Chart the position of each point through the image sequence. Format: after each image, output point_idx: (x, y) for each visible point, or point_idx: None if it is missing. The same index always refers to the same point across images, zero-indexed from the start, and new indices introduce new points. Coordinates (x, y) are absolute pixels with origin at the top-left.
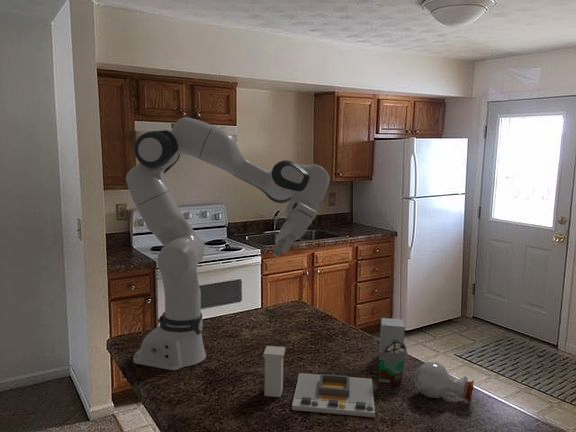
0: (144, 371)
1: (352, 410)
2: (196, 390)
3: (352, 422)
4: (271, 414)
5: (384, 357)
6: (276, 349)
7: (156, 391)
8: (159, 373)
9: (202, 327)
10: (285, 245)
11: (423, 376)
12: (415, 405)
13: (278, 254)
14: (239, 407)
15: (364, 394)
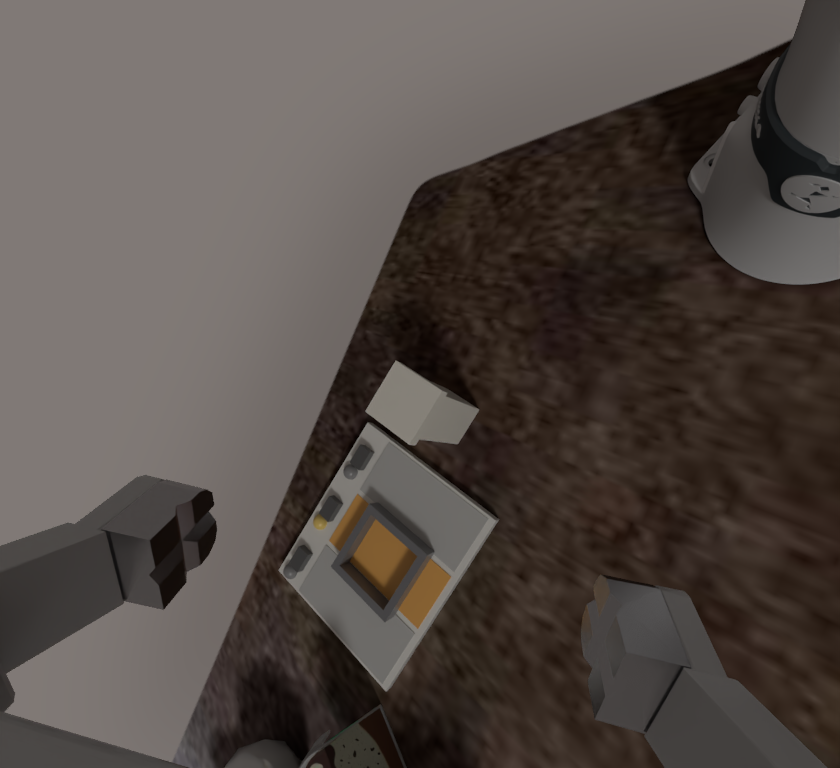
0: (719, 95)
1: (302, 532)
2: (538, 237)
3: (292, 514)
4: (376, 376)
5: (313, 746)
6: (405, 409)
7: (572, 144)
8: (685, 139)
9: (826, 211)
10: (83, 532)
11: (239, 763)
12: (278, 689)
13: (588, 632)
14: (426, 320)
15: (334, 606)
